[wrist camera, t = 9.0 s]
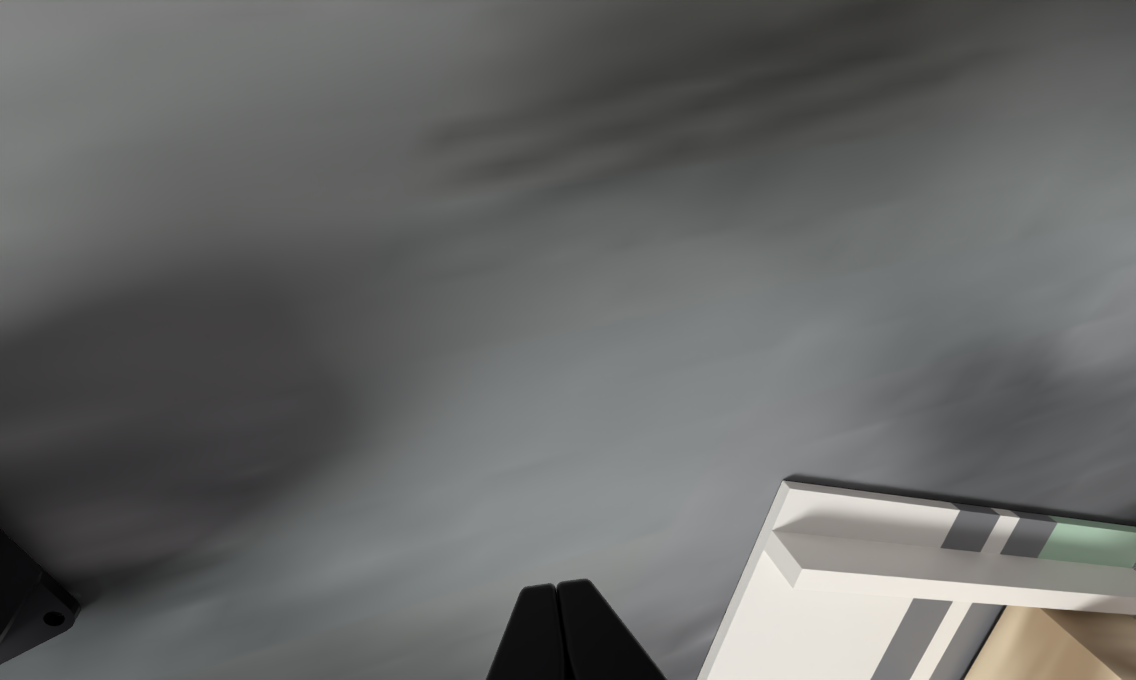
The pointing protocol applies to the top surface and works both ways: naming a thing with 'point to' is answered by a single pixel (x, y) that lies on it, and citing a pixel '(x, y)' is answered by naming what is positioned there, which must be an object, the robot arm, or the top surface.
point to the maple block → (1058, 646)
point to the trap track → (904, 584)
